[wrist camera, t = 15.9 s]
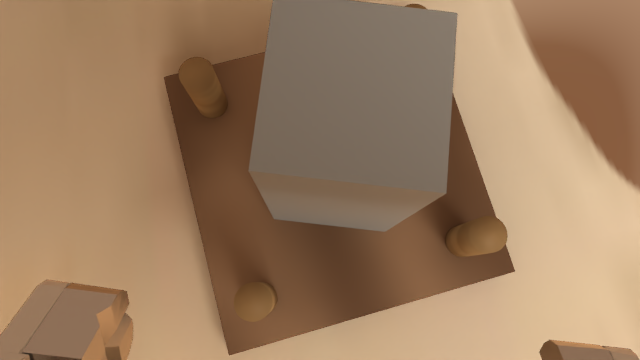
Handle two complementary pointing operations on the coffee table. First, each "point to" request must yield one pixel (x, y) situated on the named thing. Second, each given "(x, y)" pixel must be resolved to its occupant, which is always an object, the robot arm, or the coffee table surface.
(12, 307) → the coffee table surface
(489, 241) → the stand
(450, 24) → the slate block
